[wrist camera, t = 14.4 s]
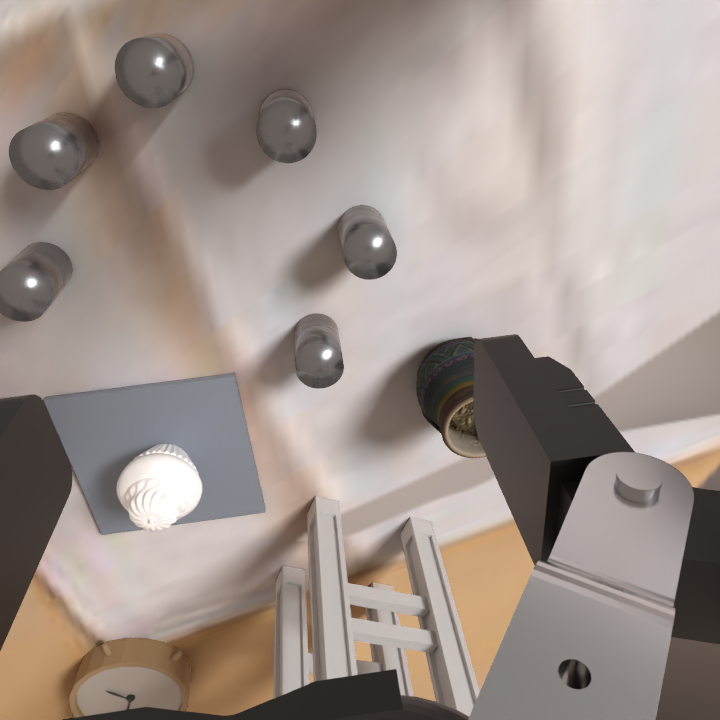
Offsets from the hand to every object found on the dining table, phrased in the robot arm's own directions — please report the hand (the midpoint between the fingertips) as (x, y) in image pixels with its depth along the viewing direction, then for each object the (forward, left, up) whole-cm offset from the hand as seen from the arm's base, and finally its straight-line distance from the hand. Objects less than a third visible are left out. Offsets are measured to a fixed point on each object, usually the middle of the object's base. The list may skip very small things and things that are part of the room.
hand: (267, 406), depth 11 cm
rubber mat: (+13, +24, -30) cm, 41 cm away
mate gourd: (-11, +19, -30) cm, 37 cm away
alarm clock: (+23, +53, -30) cm, 65 cm away
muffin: (+13, +24, -30) cm, 40 cm away
